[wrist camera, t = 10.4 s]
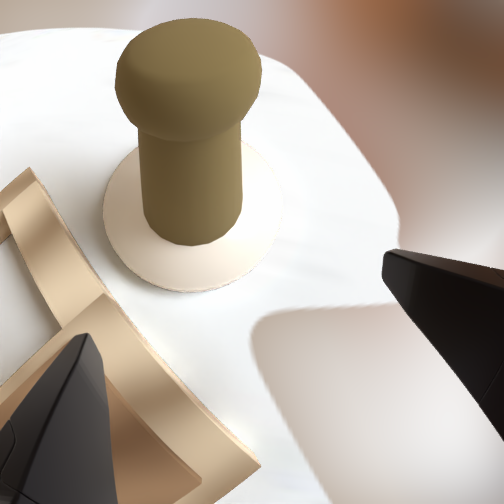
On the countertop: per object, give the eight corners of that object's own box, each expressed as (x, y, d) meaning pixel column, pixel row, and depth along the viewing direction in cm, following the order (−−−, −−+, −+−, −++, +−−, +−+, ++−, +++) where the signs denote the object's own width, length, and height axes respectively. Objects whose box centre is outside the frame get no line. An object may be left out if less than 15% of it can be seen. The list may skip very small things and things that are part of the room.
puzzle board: (253, 452, 15) (264, 471, 12) (89, 559, 10) (74, 581, 7) (43, 185, 18) (24, 159, 15) (-73, 308, 13) (-99, 298, 10)
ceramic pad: (281, 147, 22) (284, 139, 21) (275, 301, 18) (279, 298, 17) (131, 132, 20) (129, 124, 20) (90, 279, 17) (84, 275, 16)
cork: (127, 230, 17) (57, 83, 7) (163, 149, 19) (148, -3, 9) (227, 259, 17) (259, 114, 7) (253, 171, 19) (294, 18, 9)
